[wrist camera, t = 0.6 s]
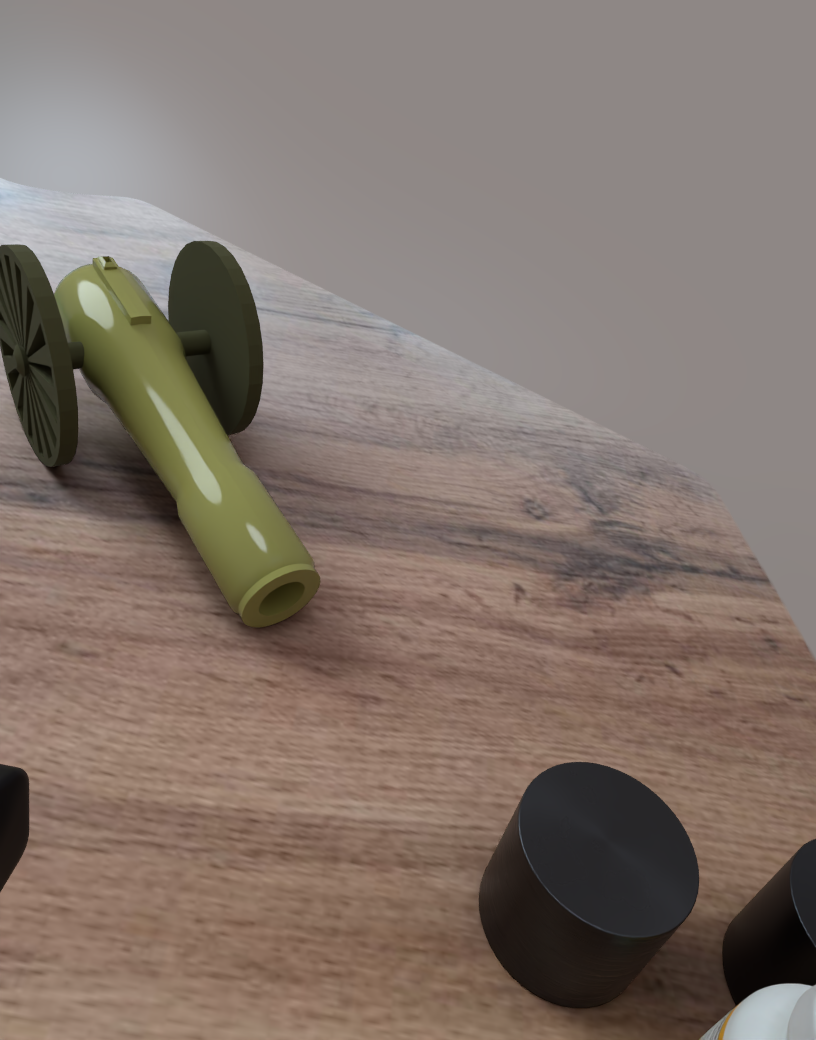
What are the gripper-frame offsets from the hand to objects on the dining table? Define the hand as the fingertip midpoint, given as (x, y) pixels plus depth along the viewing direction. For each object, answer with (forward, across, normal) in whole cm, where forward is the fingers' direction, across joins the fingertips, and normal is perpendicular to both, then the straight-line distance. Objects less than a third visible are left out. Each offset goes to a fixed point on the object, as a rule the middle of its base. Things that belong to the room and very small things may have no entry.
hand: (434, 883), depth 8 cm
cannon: (+33, +17, +7) cm, 38 cm away
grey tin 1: (+16, -6, +15) cm, 23 cm away
